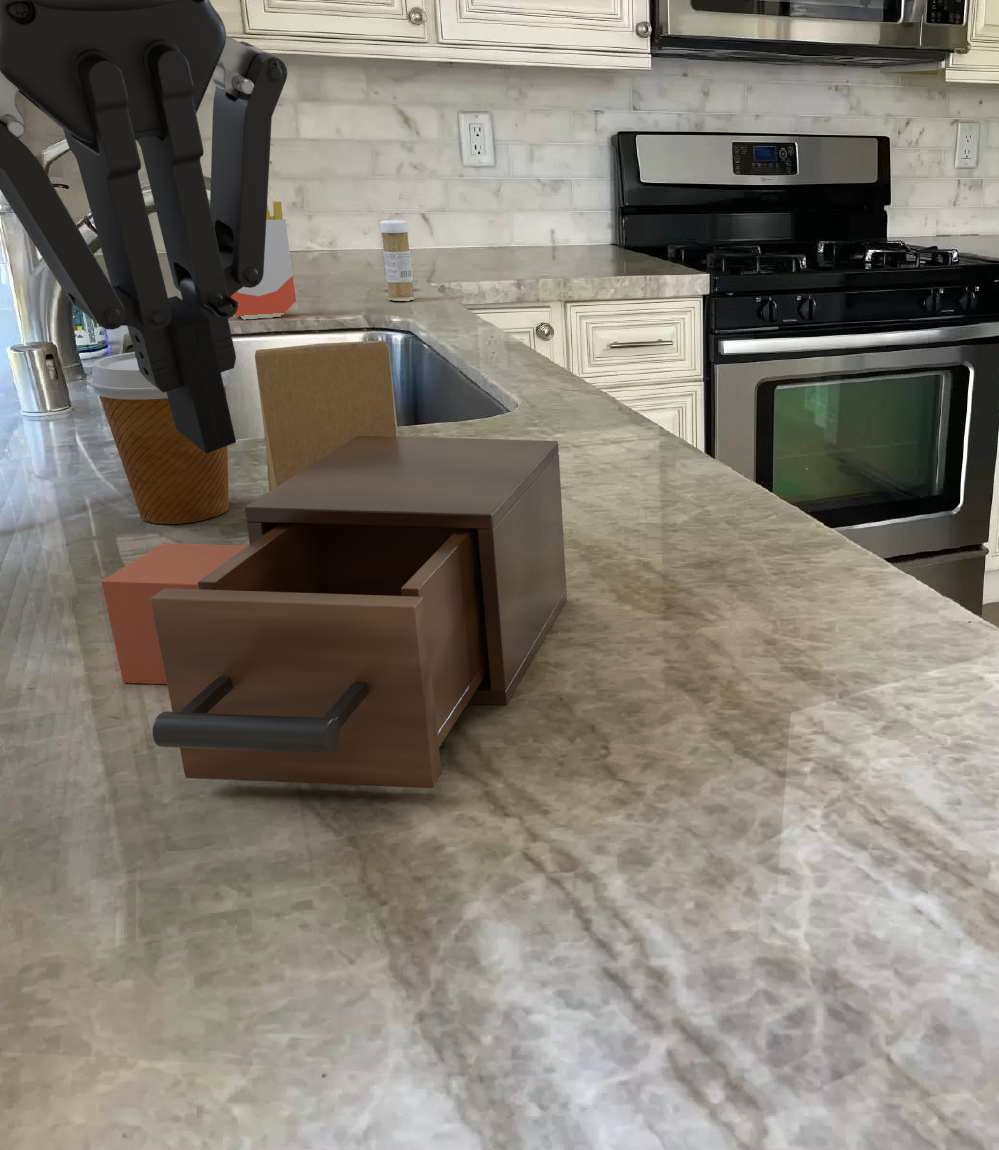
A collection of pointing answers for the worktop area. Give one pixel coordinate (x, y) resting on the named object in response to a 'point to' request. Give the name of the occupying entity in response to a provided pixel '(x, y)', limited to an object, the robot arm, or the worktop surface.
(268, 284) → the french fries container
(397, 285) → the sprinkles bottle
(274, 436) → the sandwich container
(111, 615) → the block
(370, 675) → the drawer
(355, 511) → the cabinet
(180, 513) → the disposable coffee cup
